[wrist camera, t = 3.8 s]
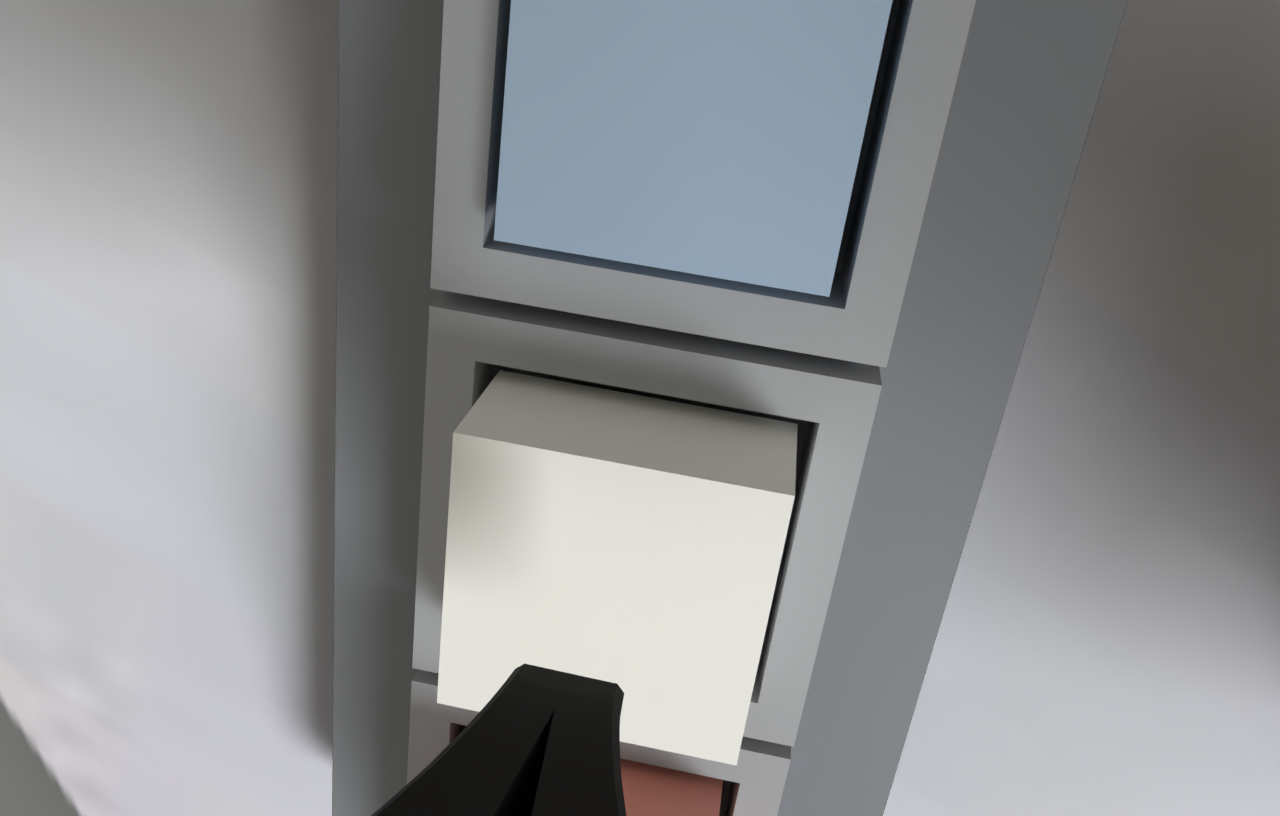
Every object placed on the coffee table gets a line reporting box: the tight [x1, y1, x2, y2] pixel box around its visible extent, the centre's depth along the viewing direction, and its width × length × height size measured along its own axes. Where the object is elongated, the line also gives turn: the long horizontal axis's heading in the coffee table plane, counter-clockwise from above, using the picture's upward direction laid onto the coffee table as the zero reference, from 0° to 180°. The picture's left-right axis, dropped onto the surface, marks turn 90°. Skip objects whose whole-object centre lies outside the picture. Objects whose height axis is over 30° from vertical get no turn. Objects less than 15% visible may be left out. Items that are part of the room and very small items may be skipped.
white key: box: [437, 370, 798, 766], centre depth 17 cm, size 5×5×2 cm
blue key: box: [494, 0, 893, 297], centre depth 15 cm, size 5×5×2 cm
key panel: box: [332, 0, 1127, 816], centre depth 20 cm, size 12×23×4 cm, turn 173°
